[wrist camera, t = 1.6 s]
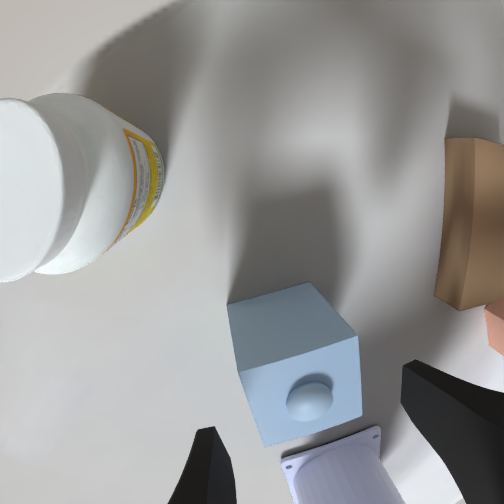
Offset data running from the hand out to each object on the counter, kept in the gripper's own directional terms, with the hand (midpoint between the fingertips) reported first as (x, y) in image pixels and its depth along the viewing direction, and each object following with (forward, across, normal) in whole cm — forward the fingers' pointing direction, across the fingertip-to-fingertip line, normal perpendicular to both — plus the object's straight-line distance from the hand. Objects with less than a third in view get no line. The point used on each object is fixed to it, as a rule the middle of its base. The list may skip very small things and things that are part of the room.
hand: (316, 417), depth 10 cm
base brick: (+8, -14, -3) cm, 16 cm away
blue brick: (+7, 0, 0) cm, 7 cm away
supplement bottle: (+7, +6, -10) cm, 14 cm away
